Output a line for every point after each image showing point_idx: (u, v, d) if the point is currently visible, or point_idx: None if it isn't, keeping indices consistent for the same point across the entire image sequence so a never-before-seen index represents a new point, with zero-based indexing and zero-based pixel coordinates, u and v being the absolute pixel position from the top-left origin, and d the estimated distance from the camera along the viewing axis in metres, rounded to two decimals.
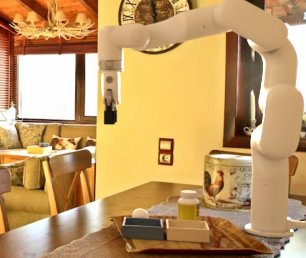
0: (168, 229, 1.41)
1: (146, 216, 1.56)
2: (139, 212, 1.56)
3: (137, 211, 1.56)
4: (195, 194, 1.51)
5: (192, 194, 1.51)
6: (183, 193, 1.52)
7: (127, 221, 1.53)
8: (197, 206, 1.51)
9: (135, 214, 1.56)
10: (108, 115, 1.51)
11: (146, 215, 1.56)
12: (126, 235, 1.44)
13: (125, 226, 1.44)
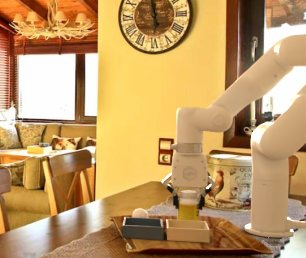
0: (168, 229, 1.41)
1: (146, 216, 1.56)
2: (139, 212, 1.56)
3: (137, 211, 1.56)
4: (195, 194, 1.51)
5: (192, 194, 1.51)
6: (183, 193, 1.52)
7: (127, 221, 1.53)
8: (197, 206, 1.51)
9: (135, 214, 1.56)
10: (173, 198, 1.54)
11: (146, 215, 1.56)
12: (126, 235, 1.44)
13: (125, 226, 1.44)
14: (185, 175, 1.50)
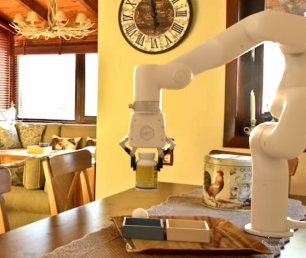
0: (168, 229, 1.41)
1: (146, 216, 1.56)
2: (139, 212, 1.56)
3: (137, 211, 1.56)
4: (153, 155, 1.45)
5: (150, 155, 1.44)
6: (141, 154, 1.45)
7: (127, 221, 1.53)
8: (155, 167, 1.44)
9: (135, 214, 1.56)
10: None
11: (146, 215, 1.56)
12: (126, 235, 1.44)
13: (125, 226, 1.44)
14: (142, 135, 1.44)
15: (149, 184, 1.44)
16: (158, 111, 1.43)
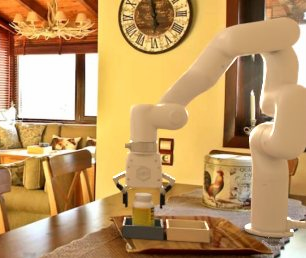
0: (168, 229, 1.41)
1: None
2: None
3: None
4: (149, 197, 1.45)
5: (146, 197, 1.45)
6: (137, 196, 1.46)
7: (127, 221, 1.53)
8: (151, 209, 1.45)
9: None
10: None
11: None
12: (126, 235, 1.44)
13: (125, 226, 1.44)
14: (139, 175, 1.44)
15: None
16: (154, 152, 1.43)
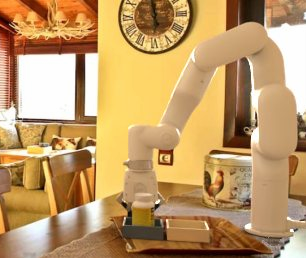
0: (168, 229, 1.41)
1: None
2: None
3: None
4: (149, 197, 1.45)
5: (146, 197, 1.45)
6: (137, 196, 1.46)
7: (127, 221, 1.53)
8: (151, 209, 1.45)
9: None
10: None
11: None
12: (126, 235, 1.44)
13: (125, 226, 1.44)
14: (136, 191, 1.55)
15: None
16: (150, 169, 1.54)
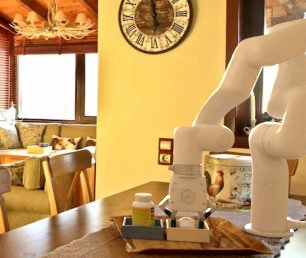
0: (168, 229, 1.41)
1: (194, 225, 1.42)
2: (186, 221, 1.42)
3: (184, 220, 1.43)
4: (149, 197, 1.45)
5: (146, 197, 1.45)
6: (137, 196, 1.46)
7: (127, 221, 1.53)
8: (151, 209, 1.45)
9: (182, 223, 1.43)
10: (171, 222, 1.46)
11: (194, 224, 1.42)
12: (126, 235, 1.44)
13: (125, 226, 1.44)
14: (183, 198, 1.41)
15: None
16: (199, 175, 1.40)
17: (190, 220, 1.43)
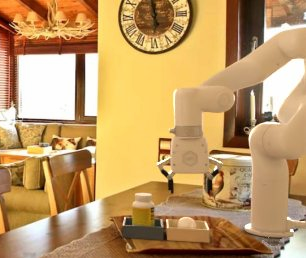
0: (168, 229, 1.41)
1: (194, 225, 1.42)
2: (186, 221, 1.42)
3: (184, 220, 1.43)
4: (149, 197, 1.45)
5: (146, 197, 1.45)
6: (137, 196, 1.46)
7: (127, 221, 1.53)
8: (151, 209, 1.45)
9: (182, 223, 1.43)
10: (168, 183, 1.45)
11: (194, 224, 1.42)
12: (126, 235, 1.44)
13: (125, 226, 1.44)
14: (185, 160, 1.41)
15: None
16: (201, 136, 1.40)
17: (190, 220, 1.43)
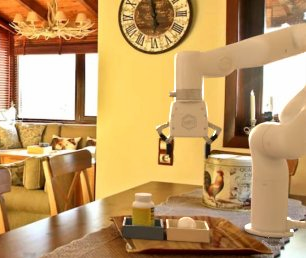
0: (168, 229, 1.41)
1: (194, 225, 1.42)
2: (186, 221, 1.42)
3: (184, 220, 1.43)
4: (149, 197, 1.45)
5: (146, 197, 1.45)
6: (137, 196, 1.46)
7: (127, 221, 1.53)
8: (151, 209, 1.45)
9: (182, 223, 1.43)
10: (166, 147, 1.44)
11: (194, 224, 1.42)
12: (126, 235, 1.44)
13: (125, 226, 1.44)
14: (184, 124, 1.40)
15: None
16: (201, 99, 1.39)
17: (190, 220, 1.43)
